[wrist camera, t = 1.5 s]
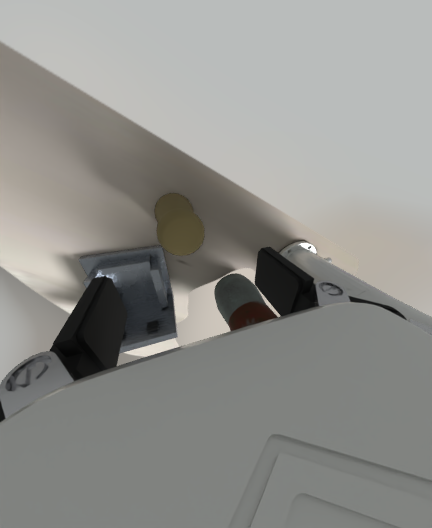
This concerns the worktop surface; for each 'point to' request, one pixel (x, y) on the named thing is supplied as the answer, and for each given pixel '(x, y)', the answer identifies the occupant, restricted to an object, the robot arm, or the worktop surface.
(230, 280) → the bottle
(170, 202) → the cork
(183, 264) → the worktop surface
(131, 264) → the clip bracket
